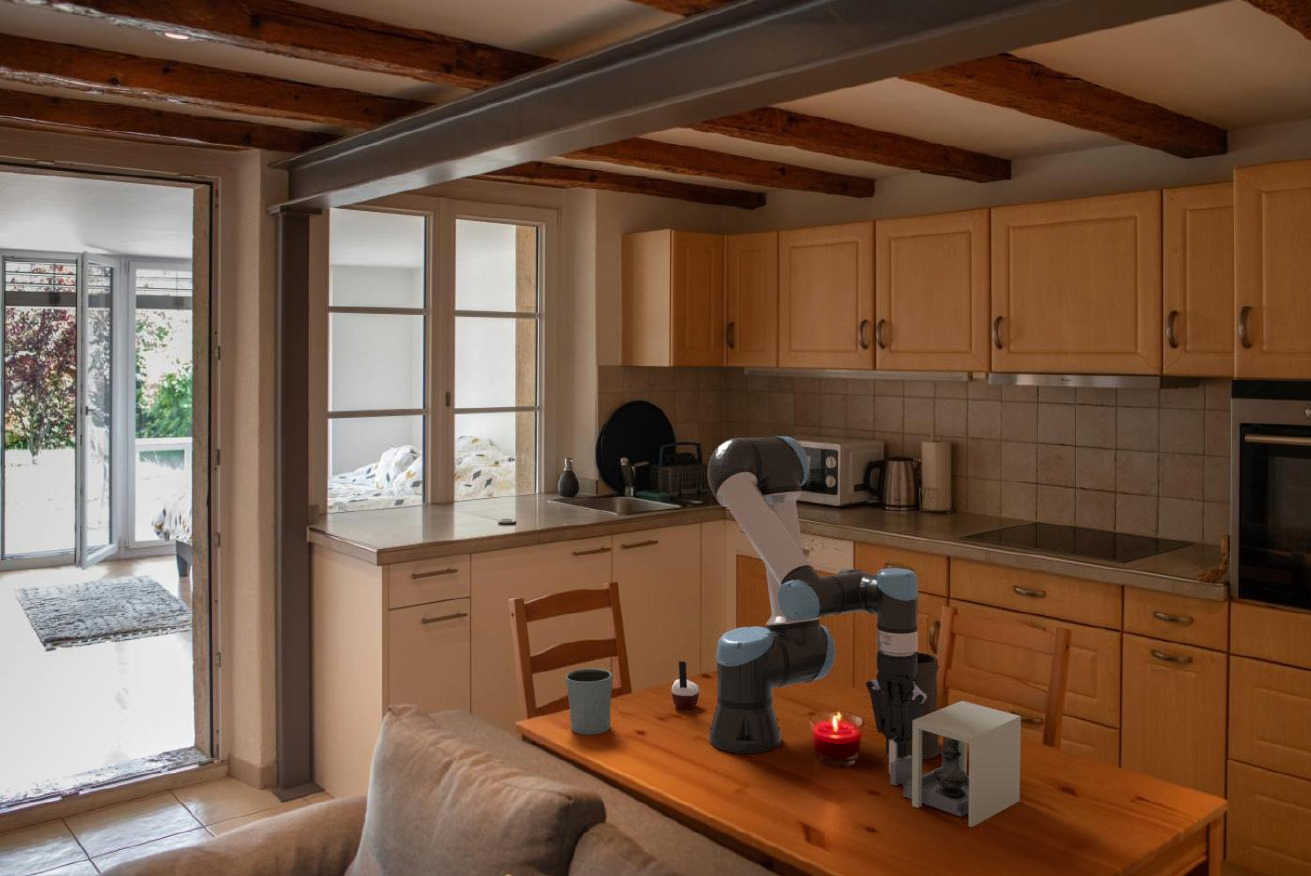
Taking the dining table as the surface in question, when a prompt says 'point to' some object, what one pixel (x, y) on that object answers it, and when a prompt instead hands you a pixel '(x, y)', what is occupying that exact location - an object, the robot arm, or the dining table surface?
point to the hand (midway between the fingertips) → (896, 772)
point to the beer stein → (927, 702)
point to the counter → (976, 755)
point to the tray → (928, 788)
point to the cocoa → (684, 690)
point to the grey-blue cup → (589, 700)
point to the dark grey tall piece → (950, 771)
